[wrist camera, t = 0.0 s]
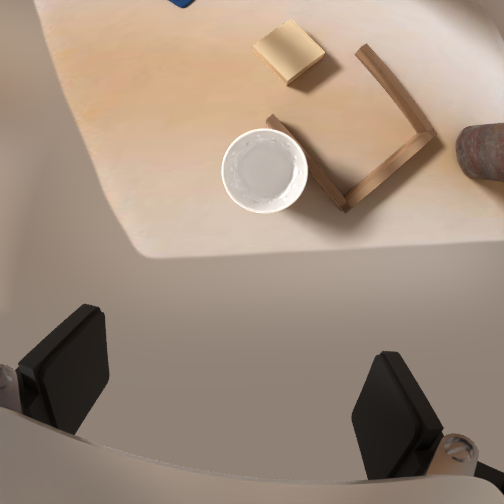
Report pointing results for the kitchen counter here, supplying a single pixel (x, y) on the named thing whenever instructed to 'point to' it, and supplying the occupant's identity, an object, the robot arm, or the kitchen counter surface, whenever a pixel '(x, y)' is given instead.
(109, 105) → the kitchen counter surface
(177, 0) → the cell phone
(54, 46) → the kitchen counter surface
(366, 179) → the corral
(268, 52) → the tan square block
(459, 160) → the candle
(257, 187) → the white cup
